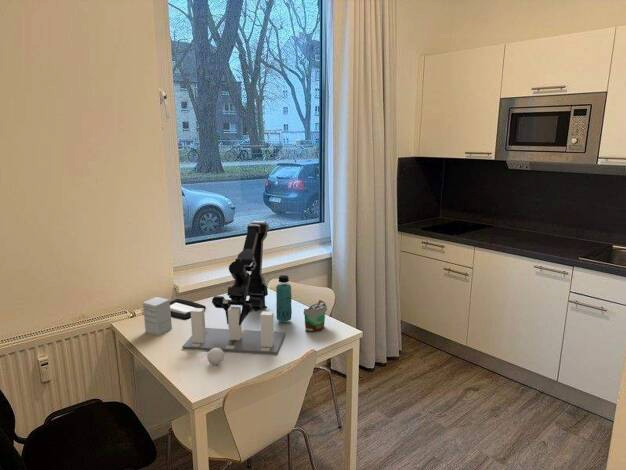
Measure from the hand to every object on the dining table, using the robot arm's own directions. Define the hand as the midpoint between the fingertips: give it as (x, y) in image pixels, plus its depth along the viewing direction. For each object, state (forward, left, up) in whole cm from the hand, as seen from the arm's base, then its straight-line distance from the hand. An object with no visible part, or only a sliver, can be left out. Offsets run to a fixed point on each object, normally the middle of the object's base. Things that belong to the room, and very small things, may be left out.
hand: (233, 324), depth 158 cm
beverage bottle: (-25, -4, -8) cm, 27 cm away
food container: (-32, +10, -8) cm, 35 cm away
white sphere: (+13, +9, -8) cm, 17 cm away
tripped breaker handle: (-1, -1, -6) cm, 6 cm away
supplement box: (+19, -28, -8) cm, 35 cm away
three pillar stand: (-1, -1, -8) cm, 8 cm away
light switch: (+4, -42, -8) cm, 43 cm away
